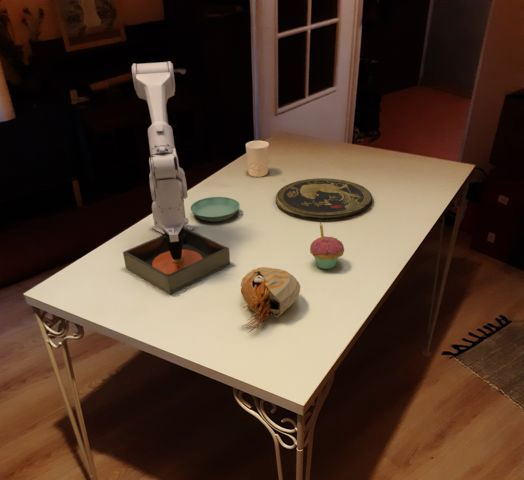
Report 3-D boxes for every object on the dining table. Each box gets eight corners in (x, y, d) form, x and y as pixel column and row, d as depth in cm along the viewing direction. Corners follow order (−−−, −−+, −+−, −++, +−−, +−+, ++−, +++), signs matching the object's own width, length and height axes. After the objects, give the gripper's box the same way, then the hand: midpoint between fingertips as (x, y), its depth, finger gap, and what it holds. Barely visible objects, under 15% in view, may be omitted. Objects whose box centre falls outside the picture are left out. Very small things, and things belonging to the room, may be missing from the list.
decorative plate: (375, 216, 161) (271, 214, 164) (375, 222, 163) (271, 220, 165) (370, 178, 185) (279, 177, 188) (369, 183, 186) (279, 182, 189)
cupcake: (315, 274, 141) (317, 230, 133) (304, 259, 147) (305, 216, 140) (348, 269, 142) (351, 225, 135) (335, 254, 149) (338, 211, 141)
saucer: (241, 204, 176) (241, 195, 174) (238, 224, 164) (238, 216, 162) (194, 204, 176) (193, 196, 175) (188, 225, 165) (187, 217, 163)
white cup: (243, 176, 194) (242, 147, 187) (250, 168, 199) (249, 139, 193) (265, 178, 192) (265, 149, 185) (272, 170, 197) (271, 141, 191)
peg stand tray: (125, 268, 146) (122, 252, 143) (185, 242, 156) (183, 226, 153) (170, 294, 135) (167, 277, 132) (230, 264, 146) (229, 248, 143)
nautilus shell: (272, 346, 119) (212, 331, 125) (313, 291, 133) (257, 280, 139) (268, 316, 114) (206, 302, 120) (311, 262, 128) (253, 252, 134)
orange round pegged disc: (142, 265, 146) (137, 239, 141) (181, 247, 153) (178, 222, 148) (173, 283, 138) (169, 256, 134) (213, 263, 145) (211, 237, 141)
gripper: (188, 215, 130) (194, 266, 138) (184, 191, 141) (190, 240, 150) (157, 218, 129) (165, 270, 138) (156, 193, 140) (163, 243, 149)
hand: (176, 254), depth 144 cm, fingers open, 3 cm apart
